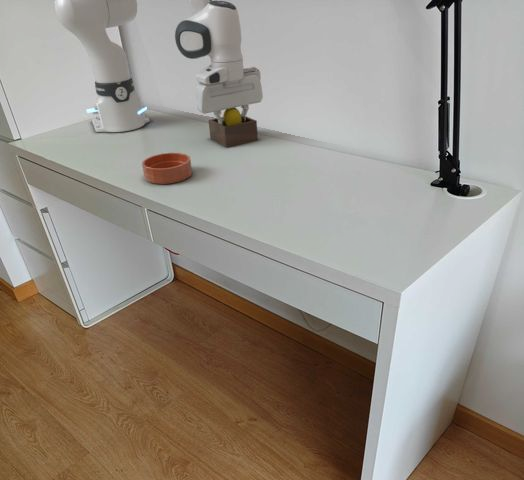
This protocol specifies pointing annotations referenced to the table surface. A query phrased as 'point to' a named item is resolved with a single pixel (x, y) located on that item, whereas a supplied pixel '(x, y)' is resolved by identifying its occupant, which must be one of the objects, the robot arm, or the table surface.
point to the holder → (233, 132)
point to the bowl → (167, 168)
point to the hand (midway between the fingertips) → (232, 123)
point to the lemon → (232, 117)
